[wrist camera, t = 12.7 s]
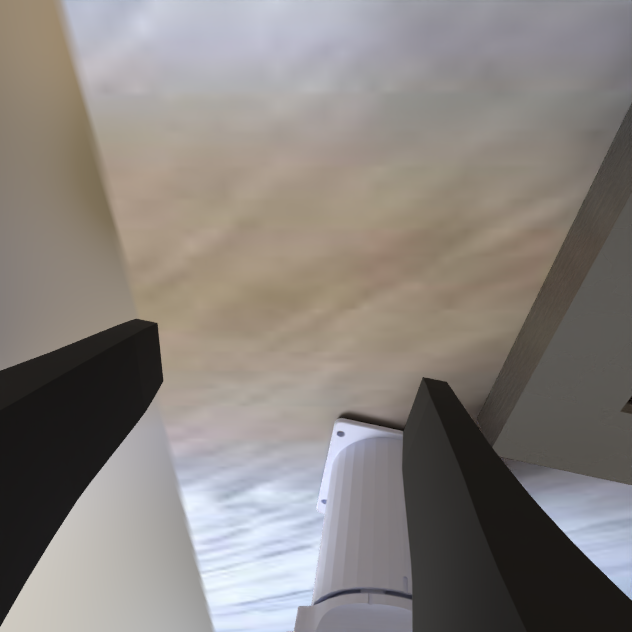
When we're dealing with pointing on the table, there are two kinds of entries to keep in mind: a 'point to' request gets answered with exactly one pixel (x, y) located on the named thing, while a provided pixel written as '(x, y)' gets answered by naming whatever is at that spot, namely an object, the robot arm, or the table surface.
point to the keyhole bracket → (577, 343)
